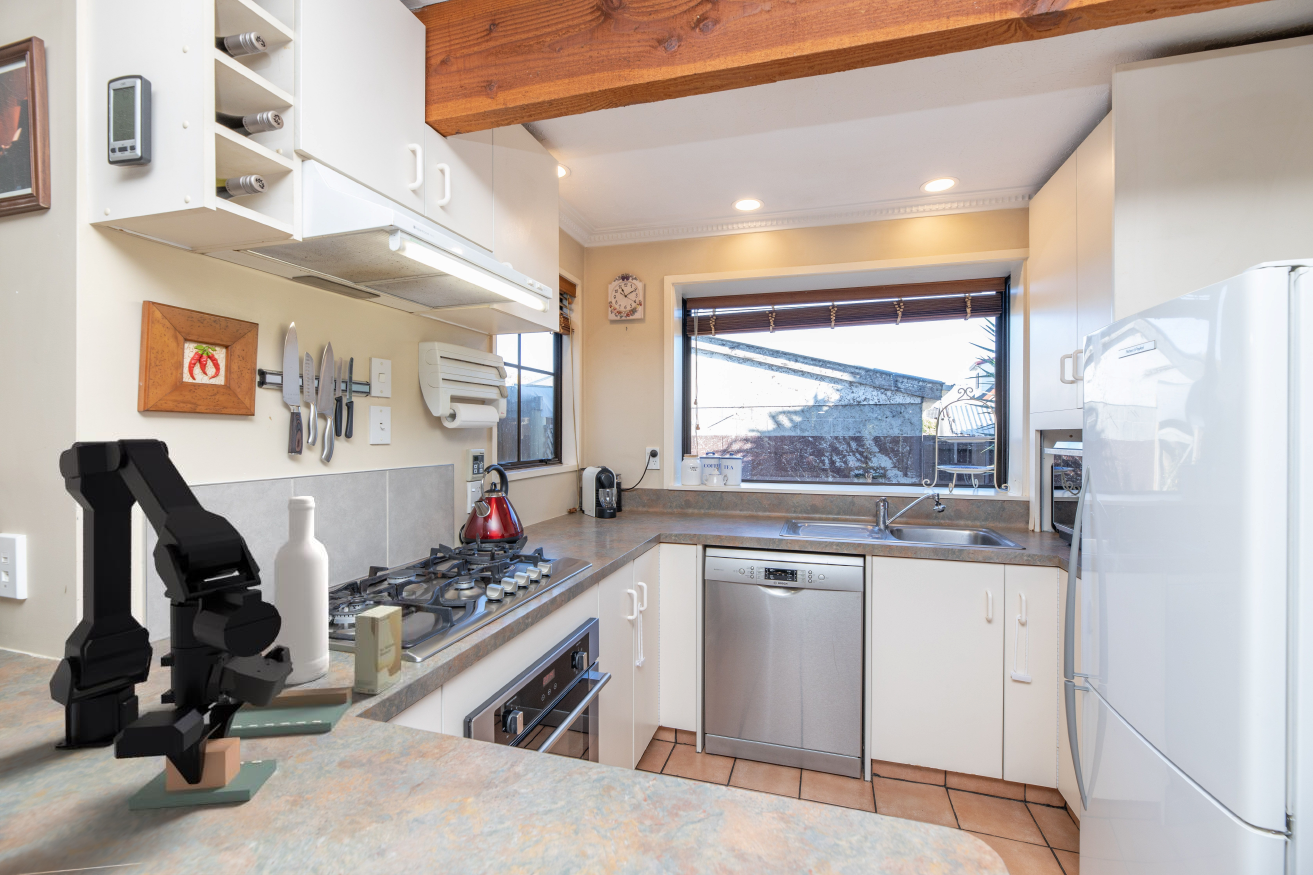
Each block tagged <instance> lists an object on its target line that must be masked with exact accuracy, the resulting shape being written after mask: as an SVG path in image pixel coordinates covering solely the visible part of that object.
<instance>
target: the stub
mask: <svg viewBox="0 0 1313 875" xmlns="http://www.w3.org/2000/svg"><path fill="white" fill-rule="evenodd" d="M276 770H277V759H262V760H260V759H259V760H250V761H248V760H247V761H241V737H233V738H222V739H207V744H206V752H205V761H204V769H203V774H202V779H201V782H200V783H199V784H193V785H190V784H188V783H187V782H186V780H185V779H184V778H183V777H182V775H181V774H180V773H179V771H178V770H177V769H176V767H175V766H174V765H173V764H172V762H171V761H170V760H169V759H168V757H167V756H165V768H164V769H163V770H162V771H160V772H159V773H158V774H157V775H156V776H155V777H154V778H152V779H151V780H150V781H149V782H148V783H146V784H145V785H144V786H143V787H142V788H141V789H140V790H138V791H137V792H135V793H134V795H132V796H131V797H130V798H129V800H128V807H129V808H128V811H136V810H137V811H138V810H147V809H158V808H169V807H170V808H173V807H181V806H182V807H183V806H184V807H185V806H196V805H206V804H207V805H208V804H220V803H232V802H246V801H251V800H252V798H253V797H254V796H255V795H256V794H257V792H258V791H260V789H261V788H262V787H263V785H264V784H265V783H266V782H267V781H268V779H269V778H271V776H272V775H273V774H274V772H276Z"/></svg>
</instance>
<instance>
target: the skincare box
mask: <svg viewBox="0 0 1313 875" xmlns="http://www.w3.org/2000/svg"><path fill="white" fill-rule="evenodd" d="M402 609H403V607H401V606H391V605H381V604H380V605H378V606H376V607H374V608H371V609H368V610H366V611H364V612H361V613H360V614H356V615H355V617H354V621H355V622H354V624H355V625H354V678H353V679H354V682H353V686H354V690H353V692H354V693H359V694H366V695H368V694H369V695H379V694H381V693H382V692H384V691H385V690H387V689H389V688H390V687H392V686H393V685H395V684H396V683H398V682H400V681H401V680H402V621H403V618H402V613H403V612H402Z"/></svg>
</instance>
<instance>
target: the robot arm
mask: <svg viewBox="0 0 1313 875" xmlns="http://www.w3.org/2000/svg"><path fill="white" fill-rule="evenodd" d="M169 453H170V452H169V447H168V445H167V443H166V442H165V441H163V440H159V439H157V438H120V439H117V440H113V441H112V440H110V441H109V440H106V441H102V440H100V441H97V440H95V441H75V442H74V443H73V444H72V445H71V447H70V448H69V449H65V450H63V451H62V452H61V453H60V456H59V459H58V462H59V463H58V467H59V472H60V475H61V476H62V478H63V479H64V486H65V490H66V492H68V494H69V495H70V496H71V497H72V498H73V500H75V502H76V503H77V504H78V505H79V506H80V507H81V508H82V619H81V620H80V621H79V623H78V625H77V626H76V627H75V628H74V630H73V631H72V632H71V634H70V635H69V636H68V638H67V639H66V640H65V643H64V644H65V646H64V654H63V655H64V656H63V657H64V658H62V659H61V660H60V662H59V663H58V665H57V667H56V670H55V671H54V673H53V675H52V676H51V679H50V681H49V682H48V683H49V684H48V685H49V692H50V697H51V700H53V701H54V702H57V703H59V704H60V705H63V706H64V728H65V729H64V732H65V733H64V734H65V737H64V738H63V739H62V740H60V741H59V742H57V743H56V744H55V745H54V750H62V749H63V750H65V749H78V748H80V749H81V748H93V747H94V748H95V747H108V746H110V745H111V746H112V745H113V757H114V759H115V760H121V759H134V758H147V757H148V758H149V757H150V758H151V757H153V758H154V757H166V756H167V757H168V759H169V760H170V761H171V762H172V764H173V765H174V766H175V767H176V769H177V770H178V771H179V773H180V774H181V775H182V777H183V778H184V779H185V780H186V782H187V783H188V784H190V785H193V784H199V783H200V782H201V779H202V774H203V769H204V761H205V752H206V744H207V739H222V738H227V737H228V733H229V730H230V727H231V724H232V722H233V719H234V716H235V714H236V712H237V711H238V710H239V709H240V708H241V707H242V706H243V705H244V704H245V703H246V702H248V703H250V704H251V705H252V706H256V707H264V706H267V705H268V704H270V703H271V701H272V700H273V699H274V698H275V697H276V696H277V695H279V694H280V693H281V692H282V691H283V688H284V686H285V685H286V684H285V681H286V679H287V677H288V676H289V675H290V674H291V673H292V672H293V668H292V663H293V662H291V657H290V650H289V648H288V647H285V646H281V645H277V646H276V647H274V646H273V648H271V649H270V650H269V651H268V652H267V653H266V654H264V655H263V652H265V651H266V650H267V649H268V648H270V646H271V645H273V643H274V641H275V639H276V638H277V636H278V634H279V631H280V629H281V622H282V621H281V616H280V615H279V612H278V610H277V609H276V608H275V606H274V604H272V603H270V602H268V601H264V600H263V592H262V590H261V589H259V588H253V587H258V586H261V585H262V579H261V576H260V571H261V568H260V566H259V565H258V563H257V561H256V559H255V558H254V556H253V554H252V552H251V551H250V549H249V547H248V544H247V542H246V540H245V538H244V536H242V535H241V533H240V532H239V531H238V529H237V528H236V527H235V526H234V525H233V524H232V523H231V522H230V521H229V520H228V519H227V518H226V517H224V516H222V515H219V514H216V513H215V512H212V511H210V510H207V509H205V507H204V506H203V505H202V504H201V503H200V501H199V500H198V498H197V497H196V495H195V494H194V492H193V491H192V489H191V487H190V486H189V485H188V483H187V481H186V480H185V479H184V478H183V476H182V475H181V473H180V471H179V469H178V468H177V466H176V465H175V464H174V462H173V461H172V459H171V458H170V457H169V456H170V455H169ZM136 503H138V505H139V507H140V508H141V510H142V512H143V513H144V515H145V517H146V519H148V521H149V523H150V525H151V526H152V528H153V530H154V532H155V533H156V534H155V535H156V536H157V538H158V539H157V541H156V544H155V546H154V549H153V551H152V557H153V559H154V561H153V562H154V567H155V571H156V573H157V575H158V577H159V578H160V579H161V581H162V584H164V586H165V587H166V589H165V591H164V593H163V595H164V596H163V597H164V598H167V599H170V600H169V602H170V603H169V618H170V619H169V620H170V622H169V624H170V625H169V626H170V627H169V631H170V632H169V633H170V634H169V636H170V640H169V642H170V647H169V648H170V652H168V653H166V654H165V655H163V656H162V657H160V667H162V668H163V667H164V668H165V667H170V689H167V690H166V691H165V692H163V693H162V694H161V695H160V704H161V705H166V704H167V705H168V704H174V708H172V709H171V710H158V711H148V712H146V713H144V714H143V715H141V716H139V715H140V714H139V712H140V711H139V708H140V707H139V695H138V694H136V685H137V684H143V683H146V682H148V678H149V674H150V671H151V670H150V669H151V665H152V659H153V658H152V657H153V654H154V653H153V652H154V651H153V650H154V648H153V646H152V645H151V642H150V631H149V630H148V629H147V627H146V626H145V627H144V626H143V625H141V623H140V622H139V621H138V620H137V619H136V618H135V617H134V616H133V615H132V553H133V552H132V546H133V545H132V543H133V542H132V536H133V535H132V529H133V528H132V522H133V521H132V520H133V519H132V518H133V517H132V515H133V514H132V512H133V511H132V510H133V506H135V504H136ZM235 573H238V574H235ZM251 588H252V589H251Z"/></svg>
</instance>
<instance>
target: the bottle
mask: <svg viewBox="0 0 1313 875" xmlns="http://www.w3.org/2000/svg"><path fill="white" fill-rule="evenodd" d="M315 508H316V503H315V498H314V497H313V496H310V495H306V496H302V495H301V496H300V495H299V496H292V497H289V498H288V504H287V510H288V540H287V541H285V543H284V544H283V545H282V546H280V547H279V549H278V550H277V552H276V555H275V558H274V561H273V577H274V578H273V593H274V594H273V600H274V602H273V603H274V604H273V606H275V608H276V609H277V610H278V612H279V615H280V616H281V621H282V622H281V629H280V631H279V634H278V636H277V638H276V639H275V641H274V642H273V643H274V646H273V648H274V647H276V646H277V645H281V646H285V647H288V648H289V650H290V657H291V662H293V663H292V668H293V672H292V673H291V674H290V675H289V676H288V677H287V679H286V681H285V684H284V685H286V686H287V685H288V686H289V685H299V684H304V683H309V682H312V681H315V680H318V679H320V678H322V677H323V676H325V675H327V673H328V671H329V666H330V665H329V663H330V651H329V556H328V552H327V550H326V547H325V545H324V544H323V543H321V542H320V541H318V539H316V538H315Z"/></svg>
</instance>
